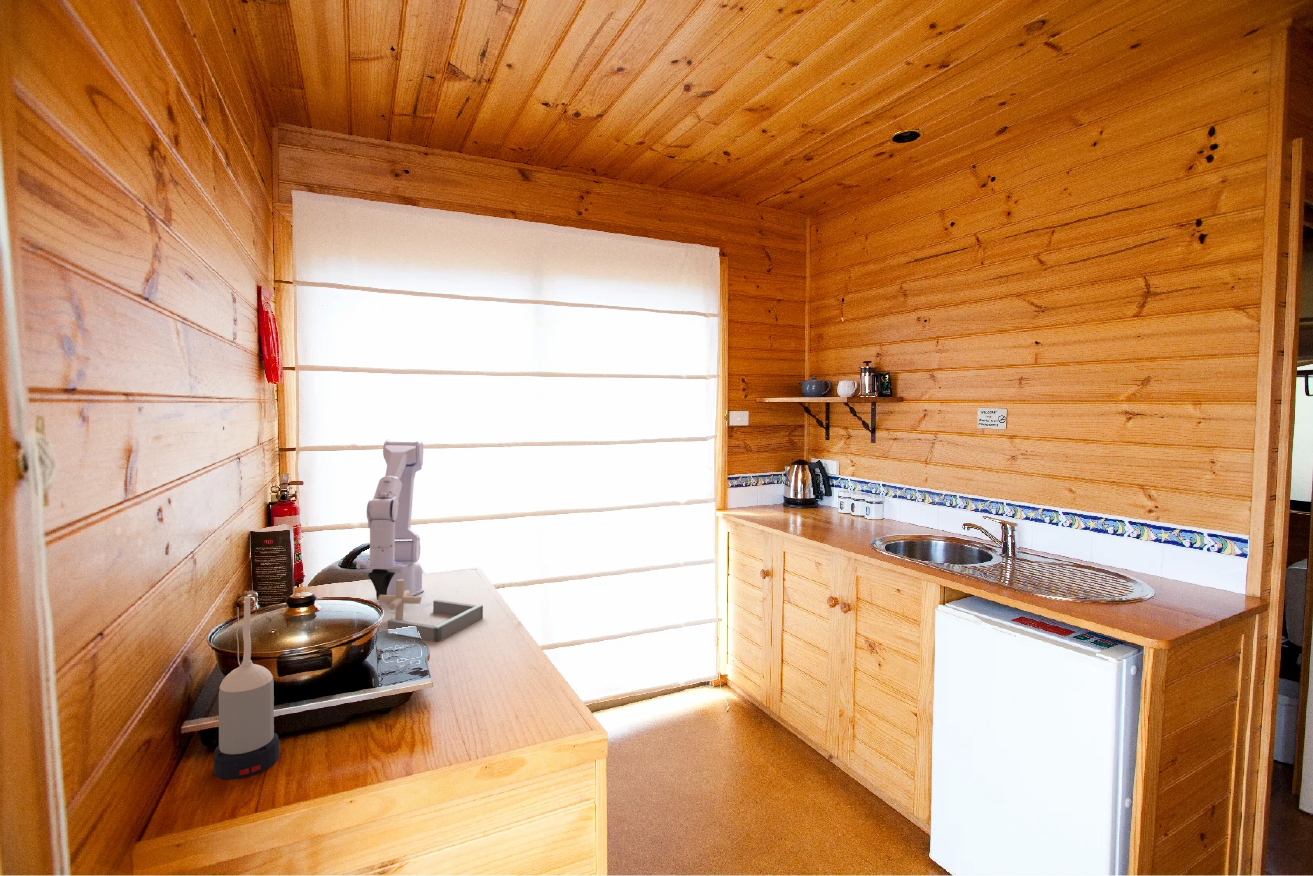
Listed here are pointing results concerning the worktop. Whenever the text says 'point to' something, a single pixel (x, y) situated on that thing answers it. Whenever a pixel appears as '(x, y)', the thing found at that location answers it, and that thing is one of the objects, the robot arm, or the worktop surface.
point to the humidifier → (246, 716)
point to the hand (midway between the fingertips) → (381, 599)
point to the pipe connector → (399, 599)
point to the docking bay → (463, 618)
